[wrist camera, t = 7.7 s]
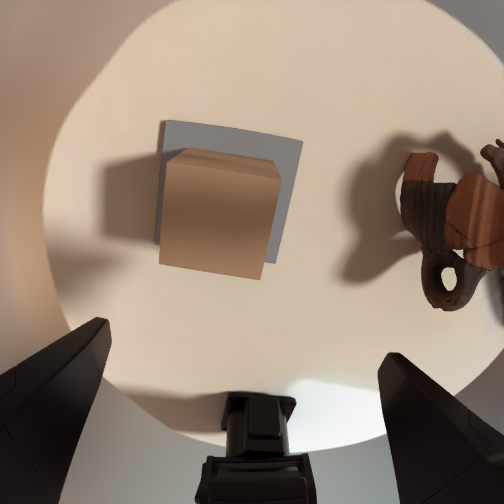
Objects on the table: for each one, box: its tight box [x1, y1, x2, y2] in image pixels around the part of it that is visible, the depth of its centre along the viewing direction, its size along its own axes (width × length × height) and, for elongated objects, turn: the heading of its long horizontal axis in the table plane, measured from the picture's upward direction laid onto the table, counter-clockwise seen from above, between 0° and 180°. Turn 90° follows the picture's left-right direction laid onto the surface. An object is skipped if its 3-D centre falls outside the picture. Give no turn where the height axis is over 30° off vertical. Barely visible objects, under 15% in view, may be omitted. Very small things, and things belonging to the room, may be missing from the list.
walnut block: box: [159, 148, 282, 280], centre depth 16 cm, size 5×5×5 cm
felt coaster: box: [155, 120, 303, 264], centre depth 19 cm, size 8×8×1 cm
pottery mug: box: [400, 139, 504, 311], centre depth 17 cm, size 12×10×8 cm
